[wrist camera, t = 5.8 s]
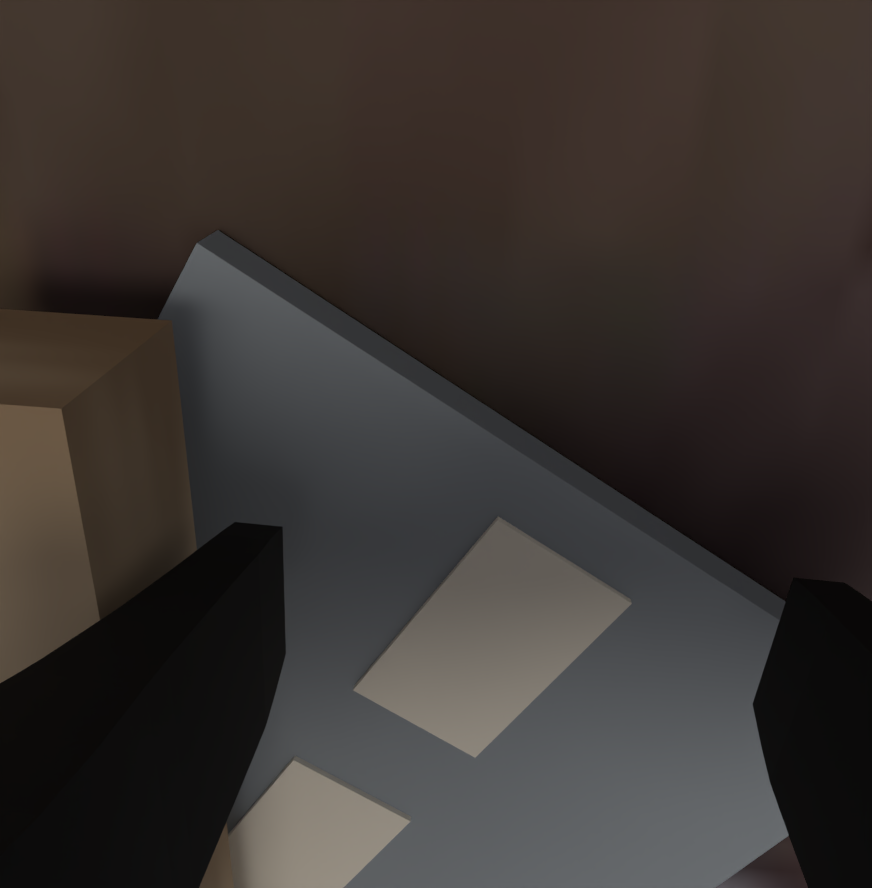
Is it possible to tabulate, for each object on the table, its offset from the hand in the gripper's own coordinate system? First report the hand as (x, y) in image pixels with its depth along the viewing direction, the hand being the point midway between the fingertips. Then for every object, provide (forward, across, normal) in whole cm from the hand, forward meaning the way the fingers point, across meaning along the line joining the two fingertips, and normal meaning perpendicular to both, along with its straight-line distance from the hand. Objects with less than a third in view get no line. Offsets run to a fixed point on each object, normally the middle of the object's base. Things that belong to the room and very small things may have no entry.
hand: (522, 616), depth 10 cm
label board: (+2, +3, +6) cm, 7 cm away
